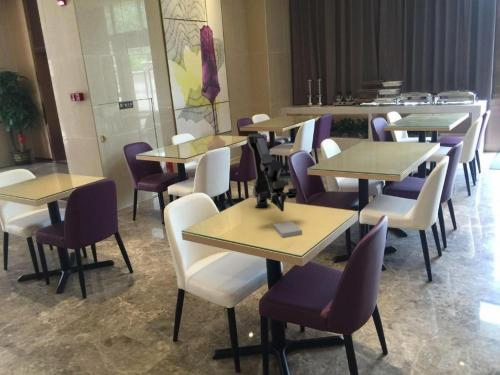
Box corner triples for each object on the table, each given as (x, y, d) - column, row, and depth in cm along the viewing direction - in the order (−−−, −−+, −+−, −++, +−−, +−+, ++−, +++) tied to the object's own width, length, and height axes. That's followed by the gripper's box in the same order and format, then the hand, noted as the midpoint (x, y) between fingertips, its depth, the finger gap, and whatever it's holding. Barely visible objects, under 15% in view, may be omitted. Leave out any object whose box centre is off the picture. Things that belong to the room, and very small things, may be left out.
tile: (273, 224, 198) (282, 233, 186) (291, 221, 200) (301, 230, 188) (273, 228, 199) (282, 238, 187) (292, 225, 201) (302, 235, 189)
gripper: (257, 175, 195) (266, 205, 188) (295, 170, 199) (305, 199, 192) (254, 188, 205) (262, 217, 197) (291, 183, 209) (300, 211, 201)
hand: (282, 211), depth 196 cm, fingers closed
